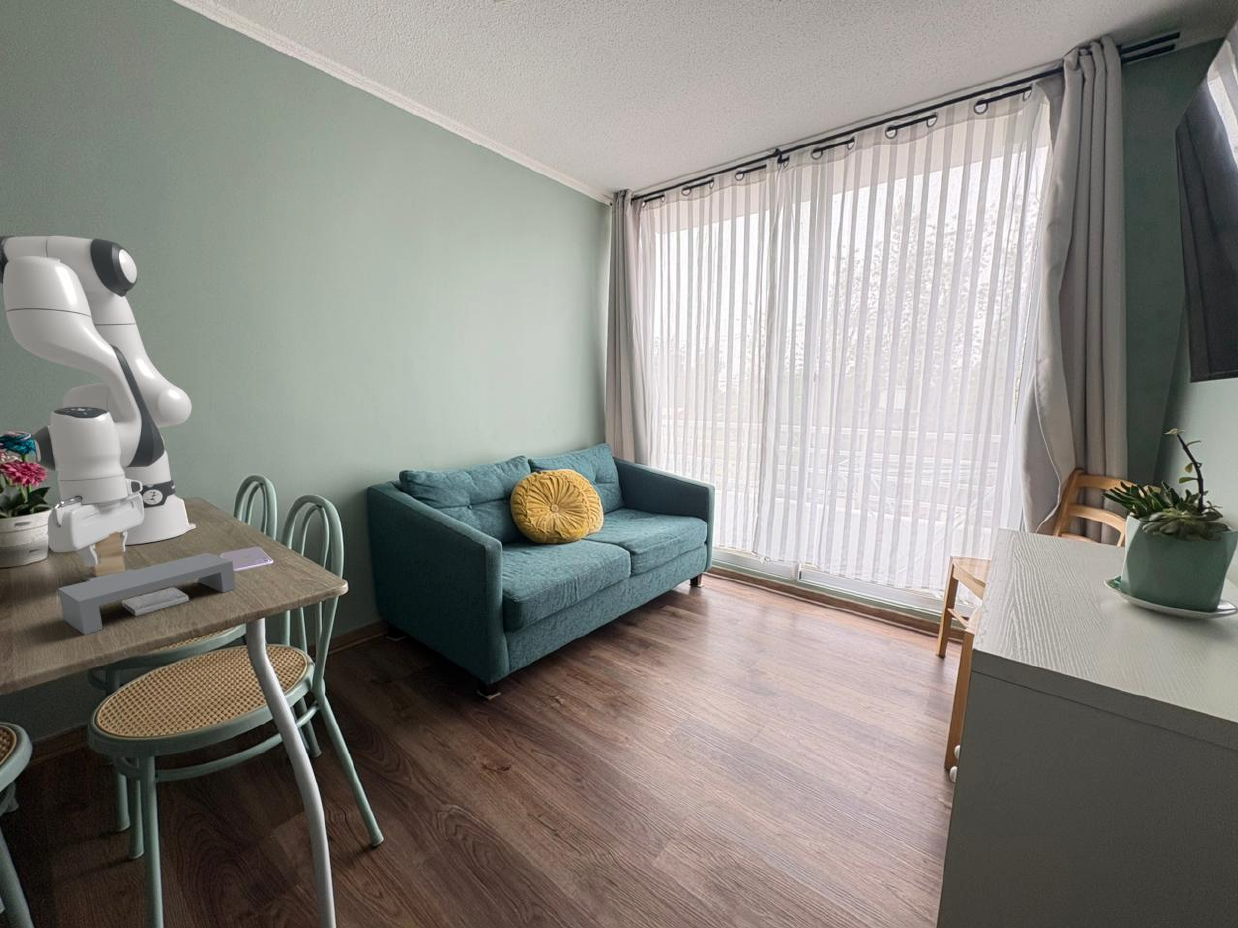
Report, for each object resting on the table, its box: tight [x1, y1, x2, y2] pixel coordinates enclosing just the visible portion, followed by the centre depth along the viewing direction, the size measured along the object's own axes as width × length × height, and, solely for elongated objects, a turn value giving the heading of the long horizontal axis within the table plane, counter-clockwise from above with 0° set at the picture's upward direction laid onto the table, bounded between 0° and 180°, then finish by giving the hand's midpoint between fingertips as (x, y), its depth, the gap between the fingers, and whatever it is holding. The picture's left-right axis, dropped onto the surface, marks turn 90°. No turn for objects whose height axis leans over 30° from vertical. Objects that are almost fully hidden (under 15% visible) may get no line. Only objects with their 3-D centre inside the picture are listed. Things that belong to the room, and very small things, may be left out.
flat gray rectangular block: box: [121, 587, 190, 617], centre depth 85 cm, size 7×7×2 cm
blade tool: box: [83, 531, 134, 582], centre depth 92 cm, size 16×6×9 cm, turn 59°
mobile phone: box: [219, 546, 274, 572], centre depth 108 cm, size 8×1×15 cm
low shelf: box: [57, 552, 237, 636], centre depth 85 cm, size 10×20×6 cm, turn 151°
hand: (106, 559), depth 96 cm, fingers closed on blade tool, 6 cm apart
